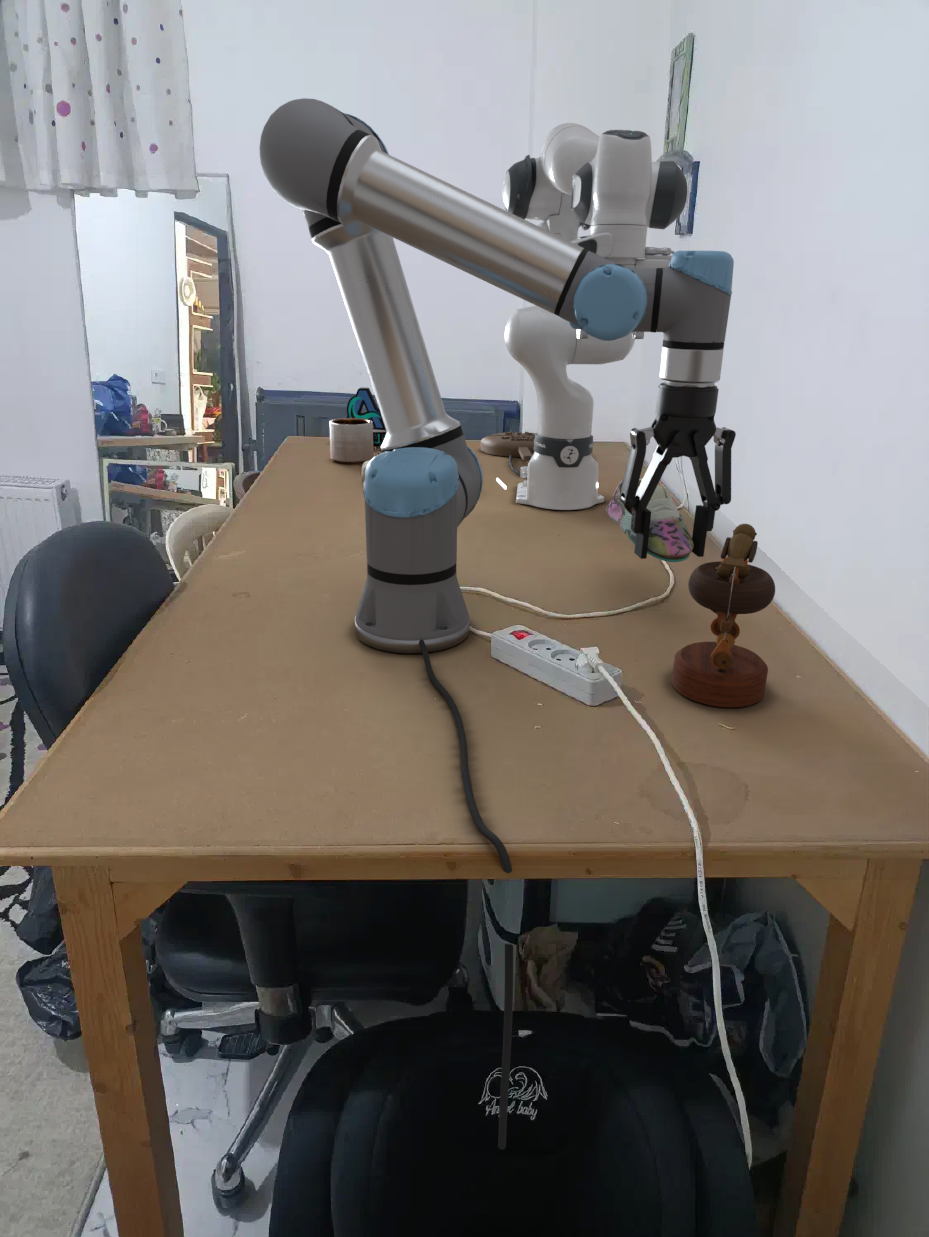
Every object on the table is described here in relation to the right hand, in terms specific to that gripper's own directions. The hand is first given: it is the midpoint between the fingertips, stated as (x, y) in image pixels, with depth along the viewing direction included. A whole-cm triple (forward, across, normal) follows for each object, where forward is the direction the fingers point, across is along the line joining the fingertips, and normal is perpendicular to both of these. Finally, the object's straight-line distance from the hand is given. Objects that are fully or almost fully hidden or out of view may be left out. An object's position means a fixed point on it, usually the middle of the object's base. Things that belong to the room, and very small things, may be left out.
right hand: (610, 339), depth 138 cm
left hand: (+26, +1, +35) cm, 43 cm away
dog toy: (+35, +29, -49) cm, 67 cm away
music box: (+35, +2, +56) cm, 66 cm away
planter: (+35, +40, -75) cm, 92 cm away
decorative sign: (+35, +36, -97) cm, 109 cm away
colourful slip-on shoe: (+26, +1, +26) cm, 37 cm away
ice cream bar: (+35, -4, -78) cm, 85 cm away
